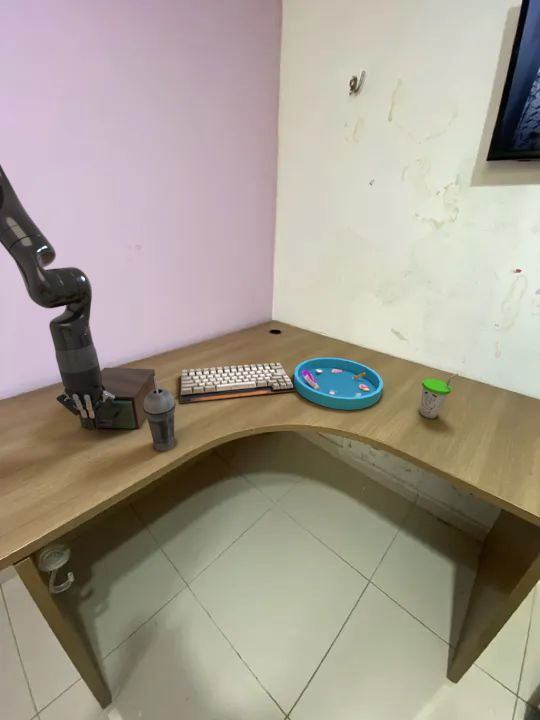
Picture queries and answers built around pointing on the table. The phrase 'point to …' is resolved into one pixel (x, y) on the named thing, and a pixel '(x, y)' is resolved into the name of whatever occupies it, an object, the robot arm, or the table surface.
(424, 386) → the cup
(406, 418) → the table surface
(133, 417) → the drawer
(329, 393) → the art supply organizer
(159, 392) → the beverage cup
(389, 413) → the table surface
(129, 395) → the cabinet
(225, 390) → the mechanical keyboard
